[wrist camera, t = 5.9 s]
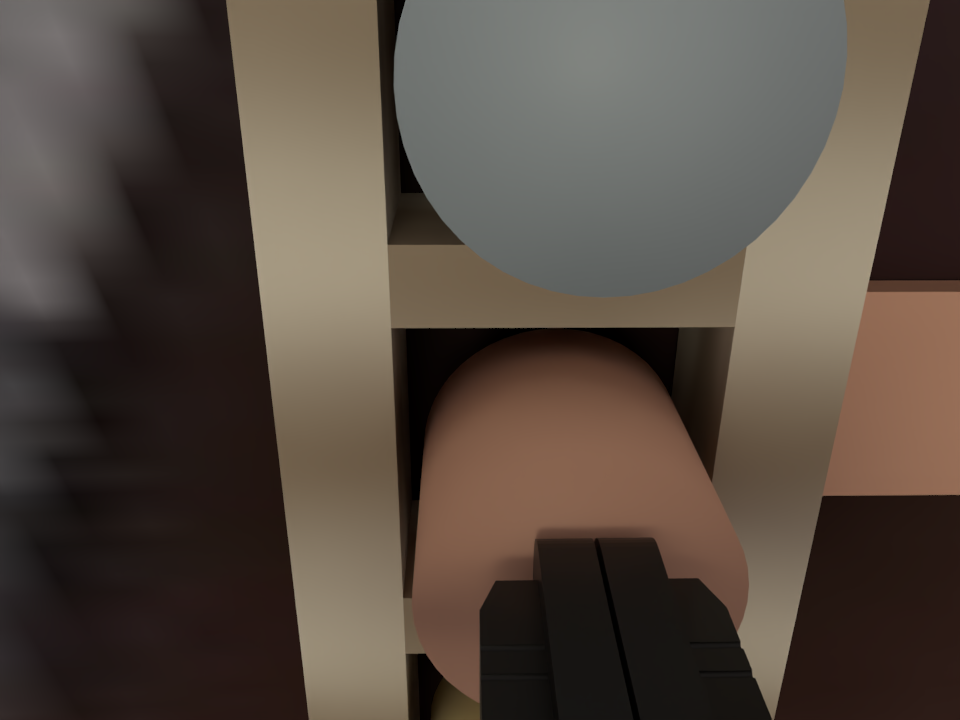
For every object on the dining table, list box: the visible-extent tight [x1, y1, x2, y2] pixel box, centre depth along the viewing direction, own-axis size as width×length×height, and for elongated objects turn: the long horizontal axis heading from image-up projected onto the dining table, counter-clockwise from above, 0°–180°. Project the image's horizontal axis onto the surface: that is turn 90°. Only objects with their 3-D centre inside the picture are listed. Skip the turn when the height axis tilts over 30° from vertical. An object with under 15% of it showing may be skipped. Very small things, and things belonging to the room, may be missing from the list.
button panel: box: [226, 0, 930, 720], centre depth 15 cm, size 20×9×3 cm, turn 0°
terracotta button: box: [412, 328, 749, 703], centre depth 13 cm, size 4×4×4 cm
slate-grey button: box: [394, 0, 847, 298], centre depth 10 cm, size 4×4×4 cm
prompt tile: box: [822, 280, 960, 496], centre depth 16 cm, size 4×4×1 cm
